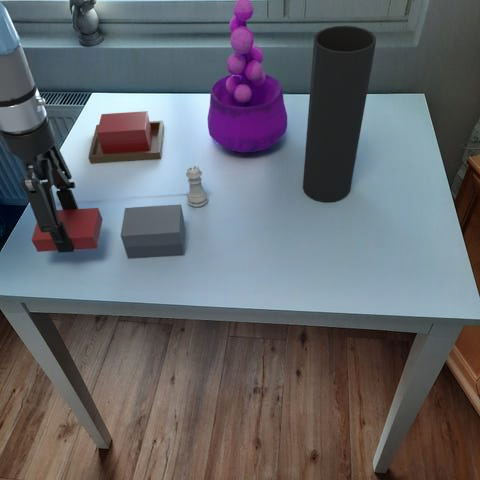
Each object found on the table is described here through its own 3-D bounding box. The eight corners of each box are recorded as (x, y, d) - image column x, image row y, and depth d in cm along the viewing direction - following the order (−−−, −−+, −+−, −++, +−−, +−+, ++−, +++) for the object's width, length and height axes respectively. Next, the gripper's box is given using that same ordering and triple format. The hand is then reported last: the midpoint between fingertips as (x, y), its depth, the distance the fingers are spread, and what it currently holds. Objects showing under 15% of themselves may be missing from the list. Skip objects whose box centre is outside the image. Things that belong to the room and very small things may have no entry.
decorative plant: (293, 157, 109) (301, 12, 85) (214, 167, 108) (200, 23, 84) (277, 115, 120) (280, -24, 97) (206, 124, 119) (190, -14, 95)
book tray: (91, 166, 111) (88, 156, 108) (99, 134, 119) (96, 124, 117) (161, 162, 110) (159, 152, 108) (164, 130, 119) (163, 120, 116)
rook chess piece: (211, 197, 102) (207, 165, 95) (203, 210, 99) (198, 178, 93) (192, 193, 103) (187, 161, 97) (184, 205, 100) (178, 174, 94)
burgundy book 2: (100, 144, 109) (96, 132, 107) (104, 125, 114) (101, 113, 112) (147, 141, 109) (144, 129, 107) (149, 122, 114) (147, 110, 111)
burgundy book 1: (37, 251, 87) (31, 240, 84) (46, 222, 91) (40, 210, 89) (96, 248, 87) (92, 236, 84) (102, 219, 91) (98, 207, 89)
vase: (360, 191, 101) (389, 41, 77) (321, 208, 98) (339, 58, 74) (330, 167, 106) (349, 20, 82) (293, 183, 103) (301, 35, 79)
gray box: (128, 258, 92) (120, 235, 87) (131, 230, 96) (124, 207, 92) (184, 255, 92) (179, 232, 87) (185, 227, 96) (181, 204, 92)
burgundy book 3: (103, 155, 112) (100, 144, 109) (108, 136, 116) (104, 125, 114) (150, 152, 111) (147, 141, 109) (152, 134, 116) (149, 122, 114)
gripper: (32, 161, 64) (81, 274, 83) (60, 85, 77) (98, 197, 95) (-23, 164, 64) (39, 276, 83) (14, 88, 77) (61, 199, 95)
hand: (70, 234), depth 89 cm, fingers closed on burgundy book 1, 8 cm apart
